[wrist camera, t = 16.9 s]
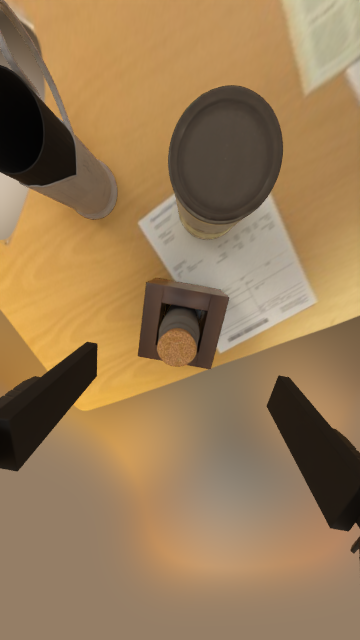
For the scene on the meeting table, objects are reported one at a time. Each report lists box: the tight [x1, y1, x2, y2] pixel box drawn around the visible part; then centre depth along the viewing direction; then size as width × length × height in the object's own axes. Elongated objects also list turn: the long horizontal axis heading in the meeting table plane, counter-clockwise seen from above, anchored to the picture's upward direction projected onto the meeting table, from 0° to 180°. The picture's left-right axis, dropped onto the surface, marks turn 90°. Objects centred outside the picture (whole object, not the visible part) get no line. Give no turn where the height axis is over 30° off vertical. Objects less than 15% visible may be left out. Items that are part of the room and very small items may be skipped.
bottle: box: [157, 305, 199, 367], centre depth 29 cm, size 6×6×15 cm
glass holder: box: [0, 0, 117, 219], centre depth 22 cm, size 9×14×15 cm, turn 0°
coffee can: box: [168, 85, 283, 239], centre depth 23 cm, size 10×10×14 cm
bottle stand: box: [138, 278, 229, 369], centre depth 32 cm, size 12×12×8 cm
